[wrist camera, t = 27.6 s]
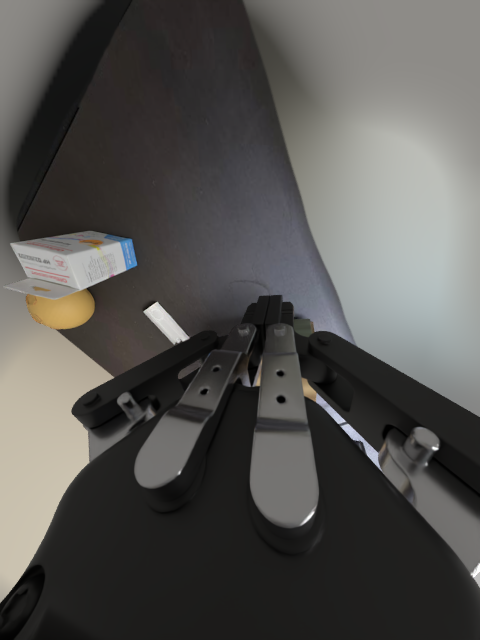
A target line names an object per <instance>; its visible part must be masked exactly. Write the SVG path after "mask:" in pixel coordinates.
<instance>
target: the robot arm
mask: <svg viewBox="0 0 480 640" xmlns="http://www.w3.org/2000/svg"><path fill="white" fill-rule="evenodd" d="M197 360H200V362H201V365H202V366H201V367H200V368H198V369H196V370H195V371H193V372H192V373H190V374H188V375H187V376H185V377H184V378H182V379H178V374H179V372H180V371H181V370H182V369H184V368H185V367H187V366H189V365H190V364H192V363H194V362H195V361H197ZM261 360H262V365H261ZM260 370H261V377H260V386H256V384H257V380H258V377H259V373H260ZM302 378H304V379H307V382H308V384H309V385H310V386H311V387H312V388H313V389H314V390H315V391H316V392H317V393H318V394H319V395H320V396H321V397H322V398H323V399H324V400H325V401H326V402H327V403H328V404H329V405H330V406H331V407H332V408H333V409H334V410H335V411H336V412H337V413H338V414H339V415H340V416H341V417H342V418H343V419H344V420H345V421H346V422H347V423H348V424H349V425H350V426H351V427H352V428H353V429H354V430H356V431H357V432H358V433H359V434H360V435H361V436H362V437H363V438H364V439H365V440H366V441H367V442H368V443H369V444H370V445H371V446H372V447H373V448H374V449H375V450H376V451H377V452H378V453H379V454H378V461H379V465H380V467H381V469H382V471H383V473H384V474H383V473H382V471H381V470H380V469H379V468H378V467H377V466H376V465H375V464H374V463H373V462H372V461H371V459H370V458H369V457H368V456H367V455H366V454H365V453H364V452H363V451H362V450H361V449H360V447H359V446H358V445H357V444H356V443H355V442H354V441H353V440H352V439H351V438H350V437H349V435H348V434H347V433H346V432H345V431H344V430H343V429H342V428H341V427H340V426H339V424H338V423H337V422H336V421H335V420H334V419H333V418H332V417H331V416H330V415H329V414H328V413H327V411H326V410H325V409H323V408H322V407H321V406H320V405H319V404H317V403H316V402H315V401H313V400H311V399H310V398H308V397H306V396H304V392H303V385H302ZM72 414H73V415H74V416H75V417H76V418H77V419H78V420H79V421H80V422H81V423H82V424H83V426H84V427H85V429H86V430H88V437H89V461H90V463H89V464H87V466H85V467H84V469H82V470H81V472H80V473H79V474H78V475H77V477H75V479H74V480H73V481H72V483H71V484H70V485H69V487H68V488H67V490H66V492H65V493H64V495H63V497H62V499H61V501H60V502H59V505H58V507H57V510H56V512H55V514H54V517H53V519H52V522H51V524H50V526H49V528H48V530H47V533H46V535H45V537H44V539H43V541H42V542H41V544H40V546H39V548H38V550H37V552H36V554H35V555H34V557H33V559H32V561H31V562H30V564H29V566H28V567H27V569H26V571H25V572H24V574H23V575H22V576H21V578H20V579H19V581H18V582H17V584H16V585H15V586H14V587H13V589H12V590H11V591H10V593H9V594H8V595H7V596H6V598H4V600H3V601H2V602H1V603H0V640H480V588H479V586H478V584H477V583H476V581H475V580H474V577H475V576H476V574H477V573H478V572H479V571H480V417H478V416H477V415H475V414H473V413H471V412H470V411H468V410H466V409H464V408H463V407H461V406H459V405H458V404H456V403H454V402H452V401H451V400H449V399H447V398H445V397H444V396H442V395H440V394H438V393H437V392H435V391H433V390H432V389H430V388H428V387H426V386H425V385H423V384H421V383H419V382H417V381H416V380H414V379H412V378H411V377H409V376H407V375H405V374H404V373H402V372H400V371H398V370H396V369H395V368H393V367H392V366H390V365H388V364H386V363H385V362H383V361H381V360H379V359H377V358H376V357H374V356H372V355H371V354H369V353H367V352H365V351H364V350H362V349H360V348H358V347H357V346H355V345H353V344H352V343H350V342H348V341H346V340H345V339H343V338H341V337H339V336H338V335H336V334H334V333H331V332H327V331H318V332H314V333H312V334H311V335H310V336H309V337H306V336H302V335H300V334H298V333H297V332H295V330H294V309H293V304H292V303H291V302H283V300H282V295H271V296H259V299H258V302H257V303H252V304H251V305H250V306H248V308H247V310H246V312H245V315H244V317H243V320H242V322H241V324H240V325H237V326H235V327H234V328H233V329H232V331H231V332H230V334H229V335H227V336H222V337H218V335H217V333H216V332H215V331H210V330H209V331H203V332H201V333H199V334H197V335H195V336H193V337H191V338H189V339H187V340H185V341H183V342H182V343H180V344H178V345H176V346H174V347H172V348H170V349H168V350H166V351H164V352H163V353H161V354H159V355H157V356H155V357H153V358H151V359H149V360H147V361H145V362H144V363H142V364H140V365H138V366H136V367H134V368H132V369H130V370H128V371H126V372H125V373H123V374H121V375H119V376H117V377H115V378H114V379H112V380H110V381H107V382H106V383H104V384H102V385H100V386H98V387H96V388H94V389H92V390H90V391H89V392H87V393H86V394H84V395H83V396H82V397H81V398H79V399H78V400H77V402H76V403H75V404H74V406H73V408H72Z"/></svg>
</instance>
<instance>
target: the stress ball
mask: <svg viewBox="0 0 480 640" xmlns="http://www.w3.org/2000/svg"><path fill="white" fill-rule="evenodd" d="M33 289H35V291H40V290H41V291H51V290H49V289H44V288H40V287H34V288H33ZM26 303H27V308H28V310H29V313H30V314H31V315H32V318H33V319H34V320H35V321H36V322H38V323H40V324H43V325H45V326H48V327H50V328H53V329H69V328H74V327H77V326H80V325H82V324H83V323H85V322H86V321H88V320H89V319H90V317H91V316H92V314H93V312H94V309H95V302H94V299H93V296H92V295H91V293H90V292H89V291H88V290H87V289H86V288H85V289H83V290H81V291H77V292H74V293H72V294H70V295H67V296H64V297H62V298H59V299H55V300H52V299H48V298H44V297H39V296H35V295H30V294H27V296H26Z"/></svg>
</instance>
